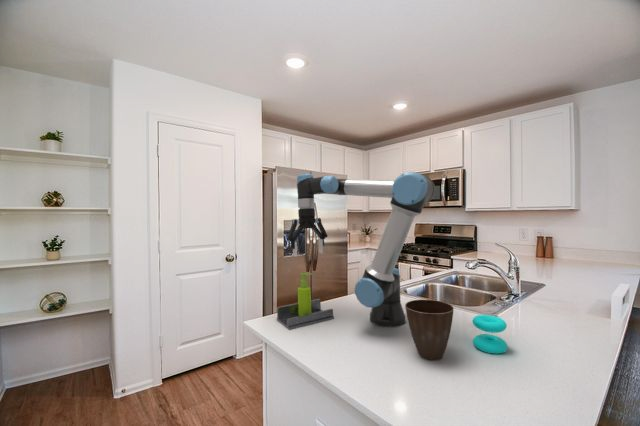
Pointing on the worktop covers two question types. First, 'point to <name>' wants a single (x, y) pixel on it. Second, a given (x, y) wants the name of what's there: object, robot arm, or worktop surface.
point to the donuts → (489, 341)
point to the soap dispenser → (304, 296)
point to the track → (292, 320)
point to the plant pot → (430, 326)
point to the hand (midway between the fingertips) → (308, 254)
